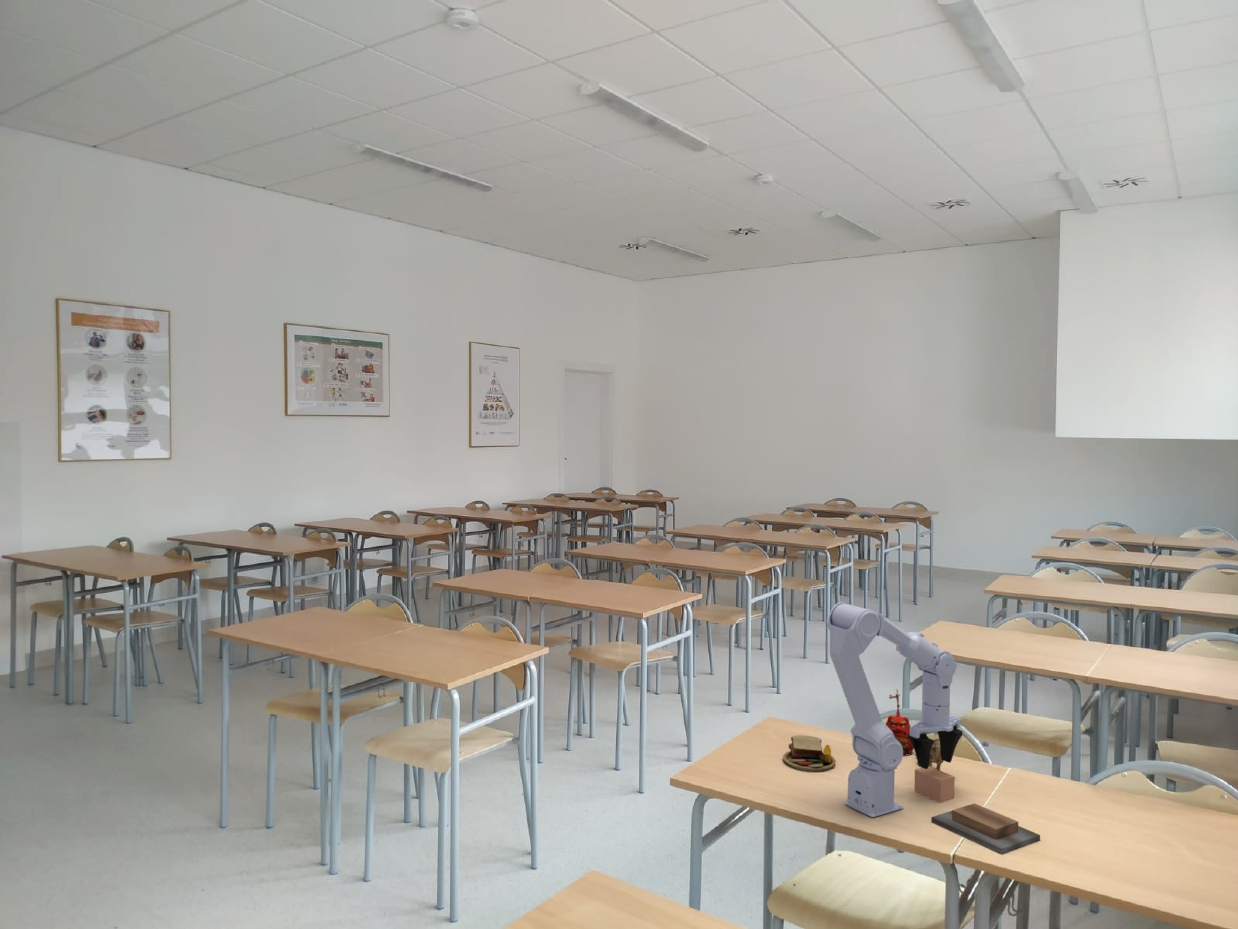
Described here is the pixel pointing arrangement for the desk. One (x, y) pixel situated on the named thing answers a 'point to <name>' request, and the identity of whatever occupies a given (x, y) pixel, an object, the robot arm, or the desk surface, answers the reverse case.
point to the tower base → (987, 840)
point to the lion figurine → (935, 754)
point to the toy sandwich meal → (808, 754)
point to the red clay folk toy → (900, 728)
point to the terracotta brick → (934, 784)
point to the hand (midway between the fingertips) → (934, 764)
